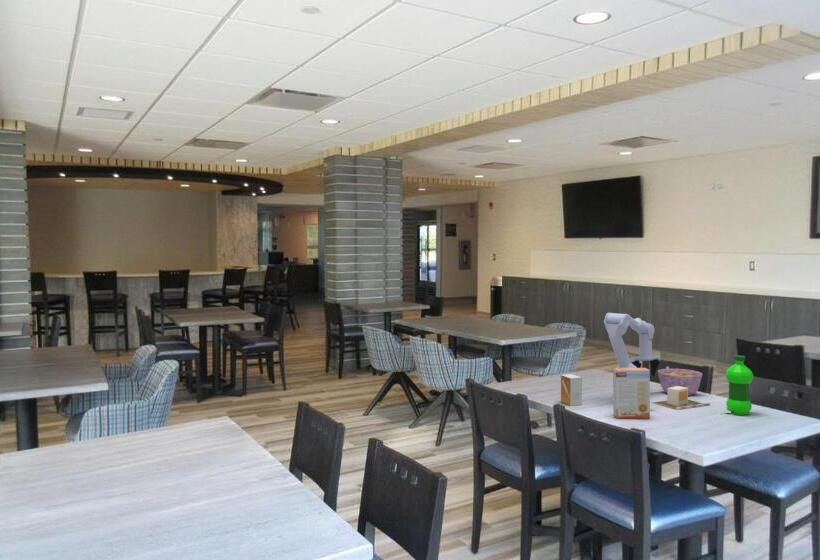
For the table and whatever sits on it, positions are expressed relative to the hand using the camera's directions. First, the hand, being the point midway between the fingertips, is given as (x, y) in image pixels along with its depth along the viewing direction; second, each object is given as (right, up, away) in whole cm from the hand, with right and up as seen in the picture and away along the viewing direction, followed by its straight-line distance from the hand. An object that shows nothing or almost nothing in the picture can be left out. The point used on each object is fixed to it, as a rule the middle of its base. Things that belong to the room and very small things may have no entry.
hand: (645, 375), depth 299 cm
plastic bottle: (+29, -12, -31) cm, 44 cm away
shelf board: (+8, -11, -19) cm, 23 cm away
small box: (-39, -11, -11) cm, 42 cm away
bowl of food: (+18, -10, +3) cm, 21 cm away
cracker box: (-20, -12, -35) cm, 42 cm away
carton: (+8, -10, -18) cm, 22 cm away
